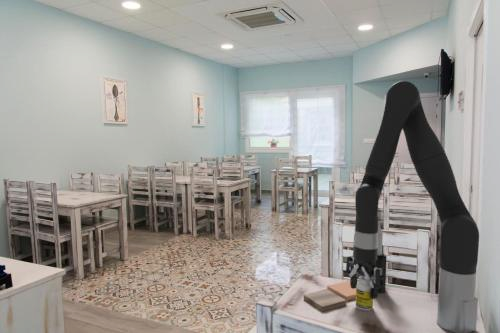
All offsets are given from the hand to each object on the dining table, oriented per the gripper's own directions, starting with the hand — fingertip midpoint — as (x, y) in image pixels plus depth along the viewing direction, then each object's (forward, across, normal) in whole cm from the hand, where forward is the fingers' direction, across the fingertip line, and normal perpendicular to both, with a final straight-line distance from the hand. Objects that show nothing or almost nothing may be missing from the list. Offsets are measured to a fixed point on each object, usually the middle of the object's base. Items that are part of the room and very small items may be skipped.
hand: (363, 292), depth 118 cm
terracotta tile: (+5, +10, -3) cm, 12 cm away
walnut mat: (+5, +8, +9) cm, 13 cm away
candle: (+5, +7, -14) cm, 17 cm away
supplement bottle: (+5, 0, 0) cm, 5 cm away
